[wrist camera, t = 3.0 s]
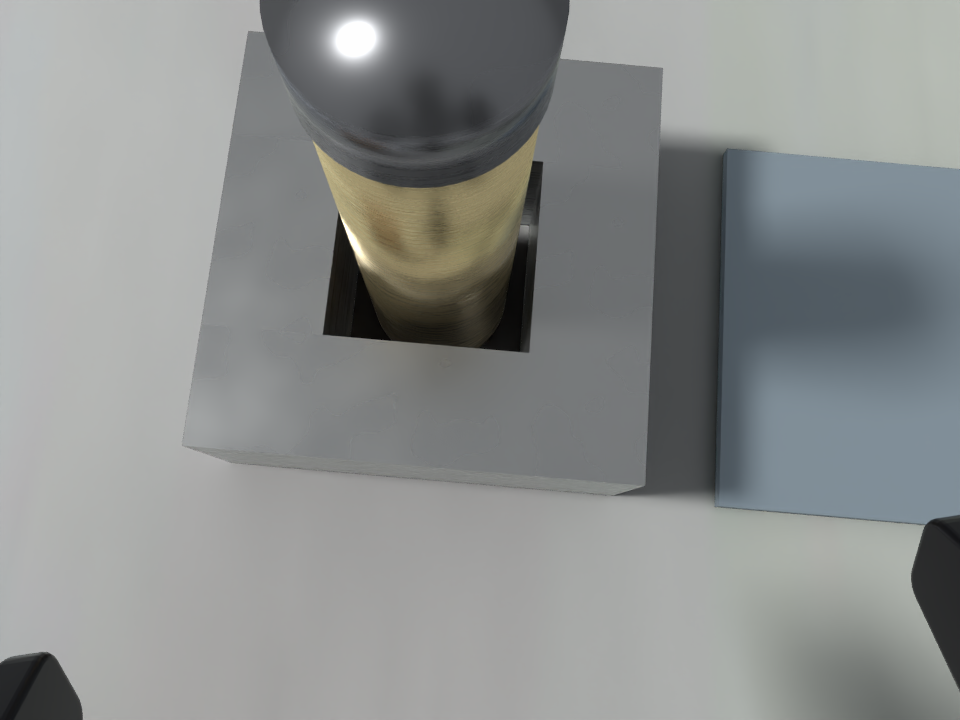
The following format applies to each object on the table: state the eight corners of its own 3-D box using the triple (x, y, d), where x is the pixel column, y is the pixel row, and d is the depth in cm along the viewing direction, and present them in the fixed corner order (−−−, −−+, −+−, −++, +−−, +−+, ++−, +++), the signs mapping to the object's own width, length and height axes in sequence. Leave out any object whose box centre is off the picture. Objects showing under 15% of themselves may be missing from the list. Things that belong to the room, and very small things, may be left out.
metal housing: (612, 495, 22) (645, 485, 18) (231, 462, 22) (181, 445, 18) (629, 144, 24) (662, 68, 20) (282, 114, 24) (248, 30, 20)
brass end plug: (426, 392, 22) (384, 196, 10) (342, 284, 23) (198, -33, 10) (537, 308, 23) (632, 19, 10) (452, 205, 24) (442, -189, 11)
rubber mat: (1093, 539, 22) (1105, 539, 22) (714, 506, 22) (719, 506, 22) (1068, 185, 24) (1078, 179, 24) (722, 155, 24) (727, 148, 24)
